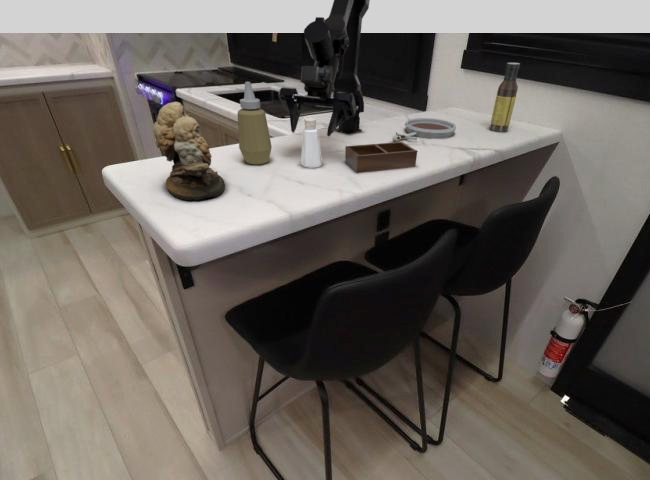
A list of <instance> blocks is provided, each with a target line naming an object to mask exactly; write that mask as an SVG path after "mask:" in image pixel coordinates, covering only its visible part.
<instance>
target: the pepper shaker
mask: <svg viewBox="0 0 650 480" xmlns="http://www.w3.org/2000/svg"><path fill="white" fill-rule="evenodd" d="M303 121H304V129H303V130H302V137H301V157H300V158H301V160H300V165H301V166H302V167H303V168H308V169H315V168H320V167H321V166H322V165H323V159H322V151H321V142H320V133H319V129H317V127H316V126H317V119H316V118H315V117H305V118H304V119H303Z"/></svg>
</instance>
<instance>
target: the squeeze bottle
mask: <svg viewBox="0 0 650 480" xmlns="http://www.w3.org/2000/svg"><path fill="white" fill-rule="evenodd" d="M239 105H240V109H239V110H238V111H237V129H238V149H239V151H240V153H241V155H242V157H243V159H244V161H245V163H246V164H249V165H264V164H267V163H269V161H270V157H271V153H272V152H271V151H272V141H271V135H270V130H269V125H268V120H267V115H266V111H265V110H264V109H262V108H261V107H262V105H261V100H260V99H259V98H256V96H255V92H254V89H253V86H252V84H251V81H245V82H244V95H243V98H241V99H239Z"/></svg>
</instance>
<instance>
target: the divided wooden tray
mask: <svg viewBox="0 0 650 480" xmlns="http://www.w3.org/2000/svg"><path fill="white" fill-rule="evenodd" d="M417 158H418V150H416V149H415V148H413V147H412V146H410V145H408V144H407V143H405V142H403V141H396V142H394V141H392V142H382V143H370V144H357V145H346V146H345V148H344V162H345V163H346V164H347V165H348V167H350V168H351V169H352V170H353V171H354V172H355V173H357V174H361V173H368V172H377V171H388V170H397V169H406V168H415V167H416V165H417Z"/></svg>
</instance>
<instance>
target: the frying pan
mask: <svg viewBox="0 0 650 480" xmlns="http://www.w3.org/2000/svg"><path fill="white" fill-rule="evenodd" d="M404 126H405V130H406V134H401V133H399V132H397V131H395V135H394V136H393V137H392V138H391V139H392V142H398V141H399V140H402V139H404V140H410V141H418V137H419V138H426V139H445V138H449V137H452V136H453V134H454V132H455V131H456V130H457V126H456V124H455V123H454V122H452V121H449V120H445V119H442V118H441V119H440V118H432V117H415V118H410V119H408V120H406V121H405V122H404Z"/></svg>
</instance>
